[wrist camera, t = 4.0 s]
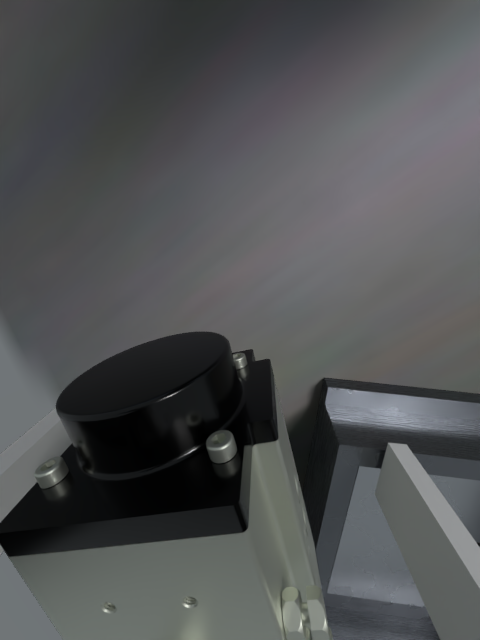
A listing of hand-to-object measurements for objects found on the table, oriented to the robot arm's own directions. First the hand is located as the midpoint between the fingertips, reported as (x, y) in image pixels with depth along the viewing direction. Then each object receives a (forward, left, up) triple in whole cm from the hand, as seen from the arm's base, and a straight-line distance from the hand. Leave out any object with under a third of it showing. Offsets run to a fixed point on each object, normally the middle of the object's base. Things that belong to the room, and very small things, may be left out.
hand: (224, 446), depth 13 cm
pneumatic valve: (0, 0, -4) cm, 4 cm away
